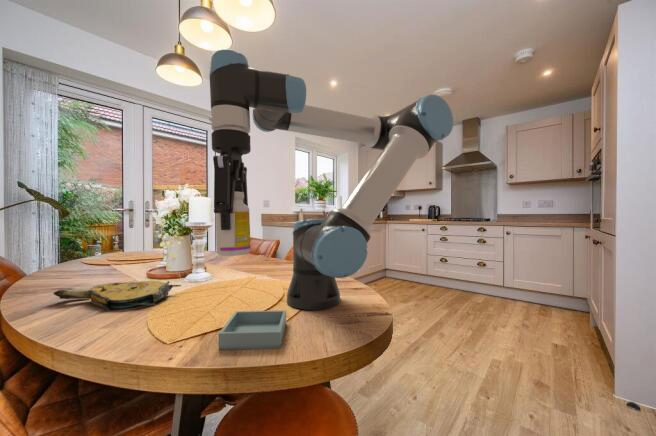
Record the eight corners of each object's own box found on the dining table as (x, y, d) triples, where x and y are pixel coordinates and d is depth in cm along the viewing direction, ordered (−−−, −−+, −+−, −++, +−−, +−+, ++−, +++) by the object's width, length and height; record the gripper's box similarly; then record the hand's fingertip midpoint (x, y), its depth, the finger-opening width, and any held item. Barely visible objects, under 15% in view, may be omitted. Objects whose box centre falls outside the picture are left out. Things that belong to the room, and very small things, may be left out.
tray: (285, 323, 61) (286, 310, 61) (280, 348, 50) (280, 332, 50) (235, 324, 60) (235, 311, 60) (218, 349, 49) (218, 333, 49)
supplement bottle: (256, 253, 55) (254, 191, 55) (223, 258, 51) (221, 190, 51) (242, 250, 60) (241, 193, 60) (212, 254, 56) (210, 192, 56)
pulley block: (81, 274, 81) (181, 274, 82) (84, 292, 82) (183, 292, 83) (31, 295, 67) (153, 295, 68) (35, 316, 68) (155, 316, 69)
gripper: (229, 144, 65) (231, 239, 65) (189, 116, 45) (193, 252, 46) (260, 144, 65) (262, 239, 66) (234, 115, 45) (237, 251, 46)
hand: (234, 244), depth 56 cm, fingers closed on supplement bottle, 7 cm apart
